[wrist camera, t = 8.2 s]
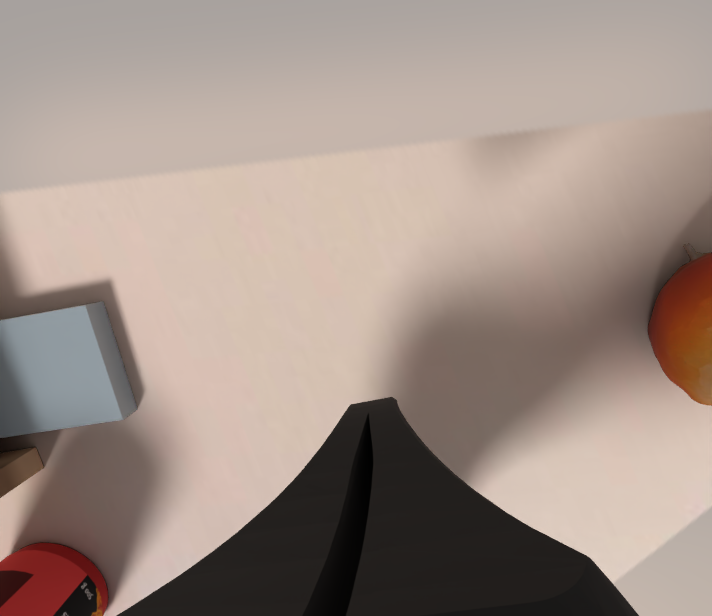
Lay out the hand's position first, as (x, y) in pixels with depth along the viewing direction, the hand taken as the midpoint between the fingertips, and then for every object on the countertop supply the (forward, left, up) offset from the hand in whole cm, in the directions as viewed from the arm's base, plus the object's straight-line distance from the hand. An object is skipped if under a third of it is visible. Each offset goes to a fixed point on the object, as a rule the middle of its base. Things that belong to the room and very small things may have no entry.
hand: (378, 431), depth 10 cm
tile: (-10, +20, -11) cm, 25 cm away
